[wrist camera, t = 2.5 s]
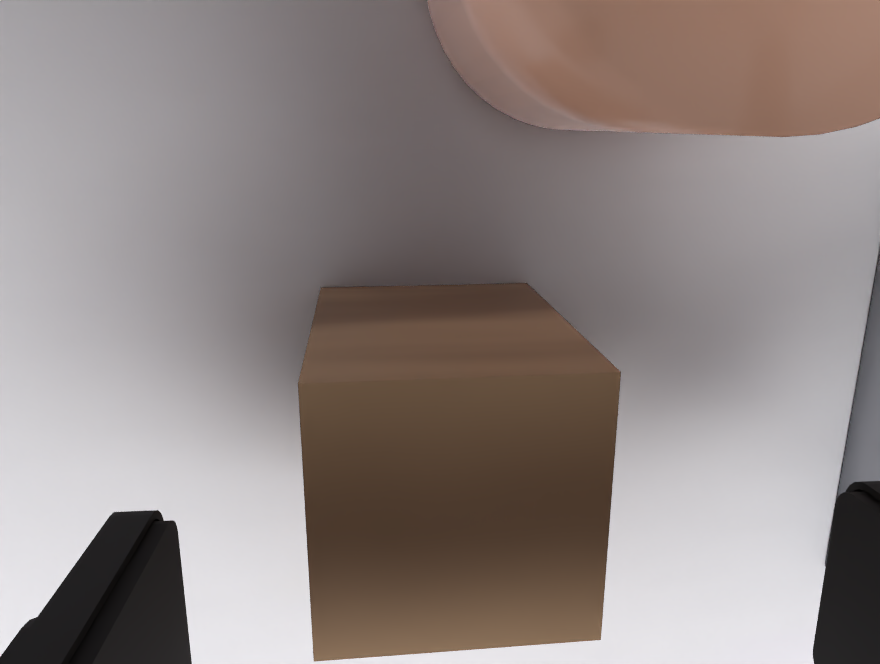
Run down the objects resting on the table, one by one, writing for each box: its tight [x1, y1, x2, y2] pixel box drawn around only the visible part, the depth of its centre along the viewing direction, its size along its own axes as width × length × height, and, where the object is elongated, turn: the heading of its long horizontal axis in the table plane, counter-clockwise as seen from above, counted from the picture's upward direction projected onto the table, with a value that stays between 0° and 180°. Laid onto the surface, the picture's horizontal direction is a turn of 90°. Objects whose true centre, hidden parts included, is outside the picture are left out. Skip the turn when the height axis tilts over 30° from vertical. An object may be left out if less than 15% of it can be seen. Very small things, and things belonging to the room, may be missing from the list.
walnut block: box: [298, 283, 621, 661], centre depth 13 cm, size 4×4×6 cm
